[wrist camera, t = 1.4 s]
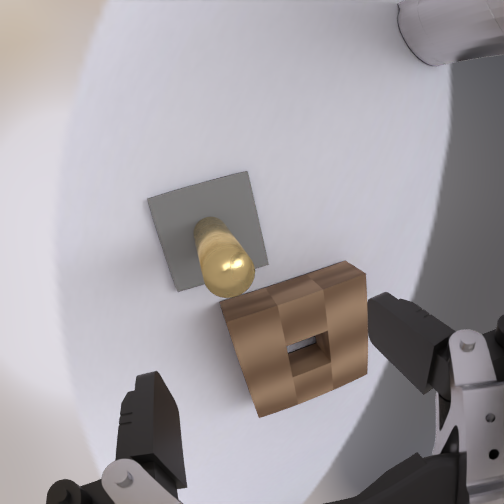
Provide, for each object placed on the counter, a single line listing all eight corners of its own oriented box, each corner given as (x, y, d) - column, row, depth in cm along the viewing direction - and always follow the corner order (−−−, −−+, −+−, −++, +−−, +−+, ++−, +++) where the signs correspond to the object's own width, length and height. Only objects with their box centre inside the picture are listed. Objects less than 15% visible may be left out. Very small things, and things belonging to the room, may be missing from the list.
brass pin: (189, 222, 25) (196, 257, 16) (222, 212, 26) (248, 242, 17) (198, 253, 26) (211, 303, 17) (230, 244, 27) (259, 288, 18)
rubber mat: (147, 198, 24) (147, 199, 24) (246, 171, 26) (247, 171, 25) (177, 290, 27) (177, 292, 27) (267, 262, 29) (268, 264, 28)
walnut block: (219, 301, 29) (225, 322, 25) (345, 260, 31) (365, 273, 27) (250, 395, 34) (259, 418, 30) (351, 356, 36) (367, 373, 32)
